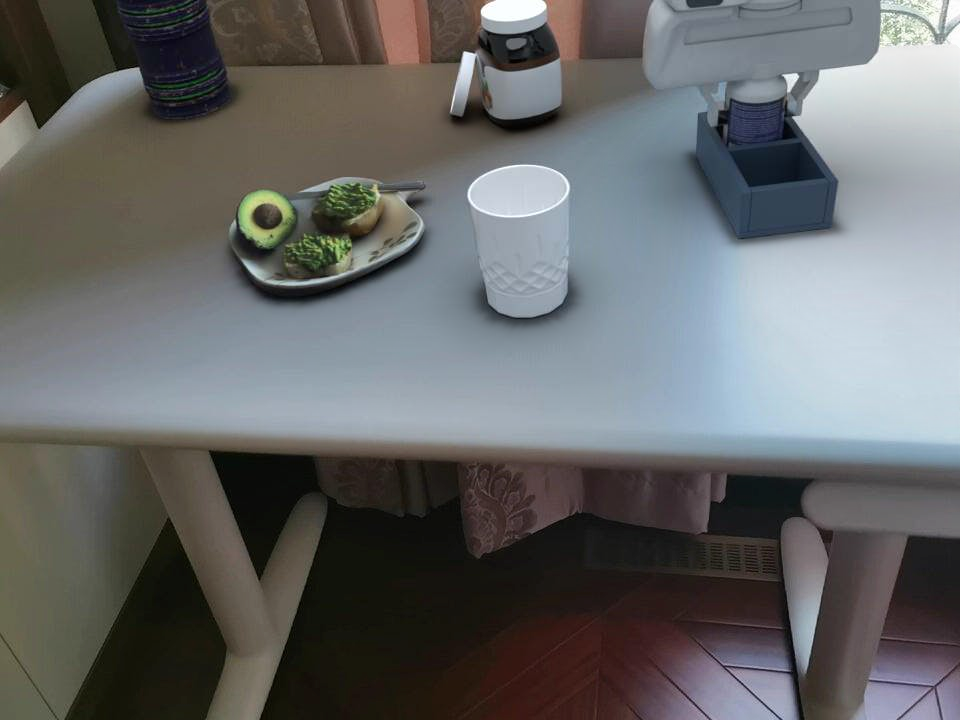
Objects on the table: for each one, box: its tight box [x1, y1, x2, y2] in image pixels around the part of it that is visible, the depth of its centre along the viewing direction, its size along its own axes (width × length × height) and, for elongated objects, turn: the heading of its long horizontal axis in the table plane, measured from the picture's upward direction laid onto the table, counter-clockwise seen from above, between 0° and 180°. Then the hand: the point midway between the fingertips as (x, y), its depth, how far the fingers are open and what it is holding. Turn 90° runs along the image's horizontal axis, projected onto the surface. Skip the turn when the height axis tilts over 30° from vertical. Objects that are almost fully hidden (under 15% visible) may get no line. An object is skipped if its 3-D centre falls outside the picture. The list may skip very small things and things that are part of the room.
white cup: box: [466, 164, 571, 318], centre depth 77 cm, size 8×8×10 cm
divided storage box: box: [695, 110, 840, 240], centre depth 87 cm, size 8×15×5 cm, turn 4°
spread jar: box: [450, 0, 563, 128], centre depth 102 cm, size 12×11×12 cm
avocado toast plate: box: [228, 176, 426, 298], centre depth 89 cm, size 19×18×5 cm
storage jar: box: [115, 0, 233, 120], centre depth 111 cm, size 10×10×18 cm
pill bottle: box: [722, 62, 788, 147], centre depth 87 cm, size 5×5×10 cm
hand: (753, 119), depth 88 cm, fingers closed on pill bottle, 5 cm apart
